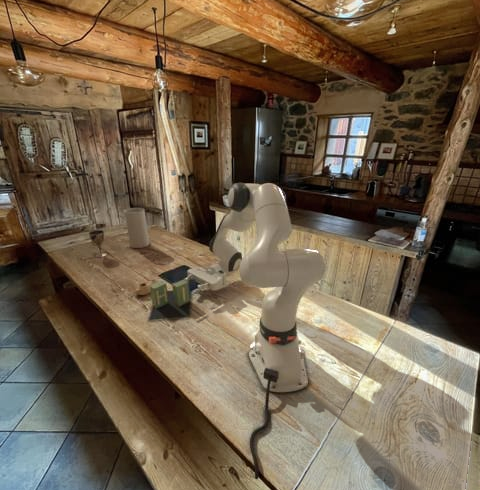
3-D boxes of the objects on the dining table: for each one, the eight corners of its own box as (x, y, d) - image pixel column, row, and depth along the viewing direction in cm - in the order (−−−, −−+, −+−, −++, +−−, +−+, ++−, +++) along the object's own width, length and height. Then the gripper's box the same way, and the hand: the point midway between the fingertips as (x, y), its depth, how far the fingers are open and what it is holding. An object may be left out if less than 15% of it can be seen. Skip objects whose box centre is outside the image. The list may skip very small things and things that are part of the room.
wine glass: (110, 254, 171) (106, 231, 165) (99, 258, 165) (93, 235, 159) (103, 251, 175) (98, 229, 169) (91, 255, 169) (86, 233, 163)
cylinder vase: (145, 248, 179) (140, 212, 169) (127, 248, 180) (120, 212, 169) (151, 242, 191) (146, 207, 181) (134, 242, 191) (128, 207, 181)
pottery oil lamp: (163, 287, 133) (161, 279, 127) (144, 304, 126) (141, 296, 121) (150, 277, 135) (148, 269, 130) (131, 293, 129) (128, 286, 123)
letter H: (168, 303, 120) (166, 283, 116) (157, 308, 116) (154, 288, 112) (164, 299, 122) (161, 280, 118) (152, 305, 118) (149, 285, 114)
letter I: (190, 301, 121) (188, 282, 117) (179, 306, 117) (177, 287, 113) (185, 298, 123) (183, 279, 119) (174, 303, 119) (172, 284, 115)
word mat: (188, 318, 111) (188, 316, 111) (149, 321, 109) (149, 319, 109) (191, 290, 131) (191, 289, 130) (157, 292, 129) (157, 291, 129)
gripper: (200, 261, 136) (177, 270, 126) (228, 274, 123) (205, 286, 114) (200, 272, 138) (178, 282, 129) (228, 286, 126) (206, 298, 116)
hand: (191, 284), depth 121 cm, fingers open, 8 cm apart
